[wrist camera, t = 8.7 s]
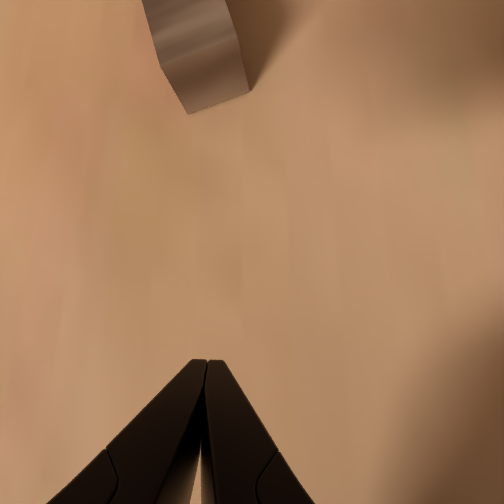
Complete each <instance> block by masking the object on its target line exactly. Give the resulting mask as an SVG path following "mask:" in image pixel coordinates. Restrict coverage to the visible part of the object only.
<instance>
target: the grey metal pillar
mask: <svg viewBox="0 0 504 504" xmlns="http://www.w3.org/2000/svg"><path fill="white" fill-rule="evenodd" d="M142 3H143V6H144V10H145V14H146V17H147V21H148V24H149V28H150V31H151V35H152V39H153V42H154V46H155V49H156V53H157V57H158V60H159V64H160V67H161V69H162V70H163V72H164V74H165V76H166V77H167V79H168V81H169V83H170V84H171V86H172V88H173V90H174V91H175V93H176V95H177V97H178V98H179V100H180V102H181V103H182V105H183V107H184V109H185V110H186V112H187V114H191V113H193V112H196V111H199V110H202V109H204V108H207V107H210V106H212V105H215V104H218V103H221V102H223V101H226V100H229V99H231V98H234V97H237V96H240V95H242V94H245V93H248V92H250V90H249V86H248V81H247V77H246V72H245V68H244V63H243V59H242V54H241V50H240V45H239V41H238V36H237V34H236V31H235V28H234V25H233V22H232V19H231V16H230V13H229V10H228V8H227V5H226V2H225V0H142Z"/></svg>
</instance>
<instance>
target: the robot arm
mask: <svg viewBox="0 0 504 504" xmlns="http://www.w3.org/2000/svg"><path fill="white" fill-rule="evenodd" d="M200 449H201V504H315V503H314V502H313V500H312V499H311V498H310V496H309V495H308V494H307V492H306V491H305V490H304V488H303V487H302V485H301V484H300V482H299V481H298V479H297V478H296V476H295V475H294V473H293V472H292V470H291V469H290V467H289V465H288V464H287V462H286V461H285V459H284V457H283V456H282V454H281V452H279V450H278V448H277V446H276V444H275V443H274V441H273V440H272V438H271V436H270V435H269V433H268V431H267V430H266V428H265V427H264V425H263V423H262V422H261V420H260V418H259V417H258V415H257V414H256V412H255V410H254V409H253V407H252V405H251V404H250V402H249V400H248V399H247V397H246V396H245V394H244V392H243V391H242V389H241V387H240V386H239V384H238V383H237V381H236V379H235V378H234V376H233V374H232V373H231V371H230V370H229V368H228V366H227V365H226V363H225V362H224V361H223V360H209V361H208V362H207V360H205V359H192V360H190V361H189V362H188V364H187V365H186V366H185V367H184V368H183V369H182V370H181V371H180V372H179V373H178V374H177V375H176V376H175V377H174V378H173V379H172V380H171V381H170V382H169V383H168V384H167V385H166V386H165V387H164V388H163V389H162V390H161V391H160V392H159V393H158V394H157V395H156V396H155V397H154V398H153V399H152V400H151V401H150V402H149V403H148V404H147V405H146V406H145V407H144V408H143V409H142V410H141V411H140V413H139V414H138V415H137V416H136V417H135V418H134V419H133V420H132V421H131V422H130V423H129V424H128V425H127V426H126V427H125V428H124V429H123V430H122V431H121V432H120V433H119V434H118V435H117V436H116V437H115V438H114V439H113V440H112V441H111V442H110V443H109V444H108V445H107V446H106V449H103V450H102V451H101V452H100V453H99V454H98V455H97V456H96V457H95V458H94V459H93V460H92V461H91V462H90V463H89V464H88V465H87V466H86V467H85V468H84V469H83V470H82V471H81V472H80V473H79V474H78V475H77V476H76V477H75V478H74V479H73V480H72V481H71V482H70V483H69V484H68V485H67V486H65V487H64V488H63V489H62V490H61V491H60V492H59V493H58V494H56V495H55V496H54V497H53V498H52V499H51V500H50V501H49V502H48V503H46V504H190V499H191V494H192V490H193V485H194V480H195V476H196V471H197V467H198V461H199V456H200Z"/></svg>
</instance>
